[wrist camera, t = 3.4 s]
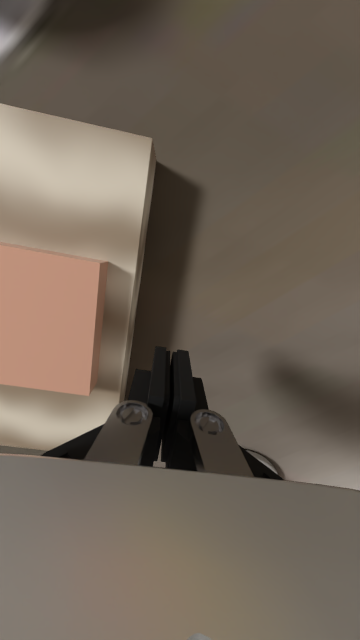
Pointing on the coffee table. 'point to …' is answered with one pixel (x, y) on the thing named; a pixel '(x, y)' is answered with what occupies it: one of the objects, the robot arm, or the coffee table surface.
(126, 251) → the platform
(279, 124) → the coffee table surface
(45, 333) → the coaster
